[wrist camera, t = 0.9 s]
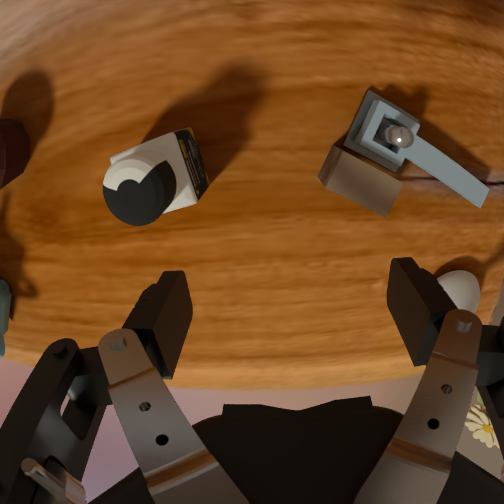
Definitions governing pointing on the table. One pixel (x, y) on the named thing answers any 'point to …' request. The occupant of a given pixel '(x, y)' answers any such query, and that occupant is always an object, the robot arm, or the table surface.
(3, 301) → the teakettle
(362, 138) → the link
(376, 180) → the block
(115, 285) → the table surface
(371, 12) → the table surface
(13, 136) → the muffin
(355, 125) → the pintle block
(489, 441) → the flower in vase
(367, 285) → the table surface
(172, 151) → the medicine bottle
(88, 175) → the table surface
